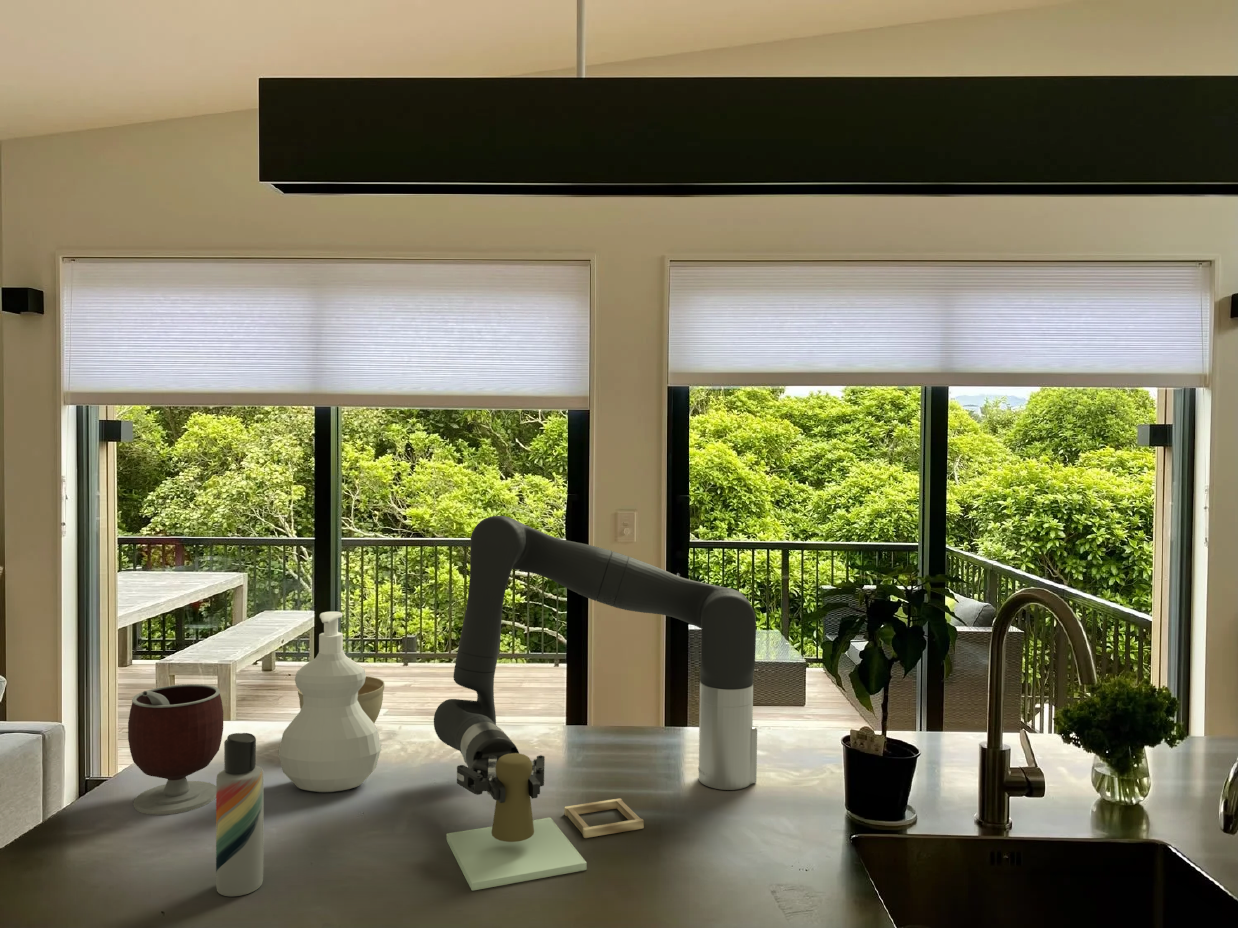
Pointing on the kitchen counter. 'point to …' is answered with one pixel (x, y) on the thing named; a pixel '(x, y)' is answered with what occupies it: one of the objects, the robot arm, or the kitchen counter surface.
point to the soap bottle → (330, 721)
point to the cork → (513, 799)
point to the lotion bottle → (239, 818)
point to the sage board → (514, 855)
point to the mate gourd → (175, 744)
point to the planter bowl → (366, 697)
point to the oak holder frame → (606, 828)
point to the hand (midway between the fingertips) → (519, 793)
